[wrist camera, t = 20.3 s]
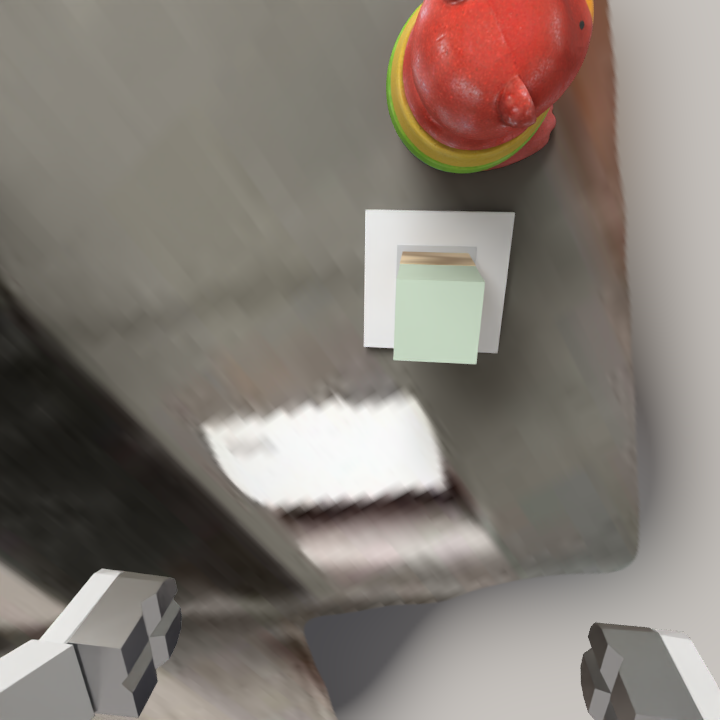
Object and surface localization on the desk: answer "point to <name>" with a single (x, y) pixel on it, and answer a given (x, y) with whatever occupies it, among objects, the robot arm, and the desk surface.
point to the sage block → (438, 313)
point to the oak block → (437, 258)
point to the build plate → (434, 234)
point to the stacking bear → (484, 78)
